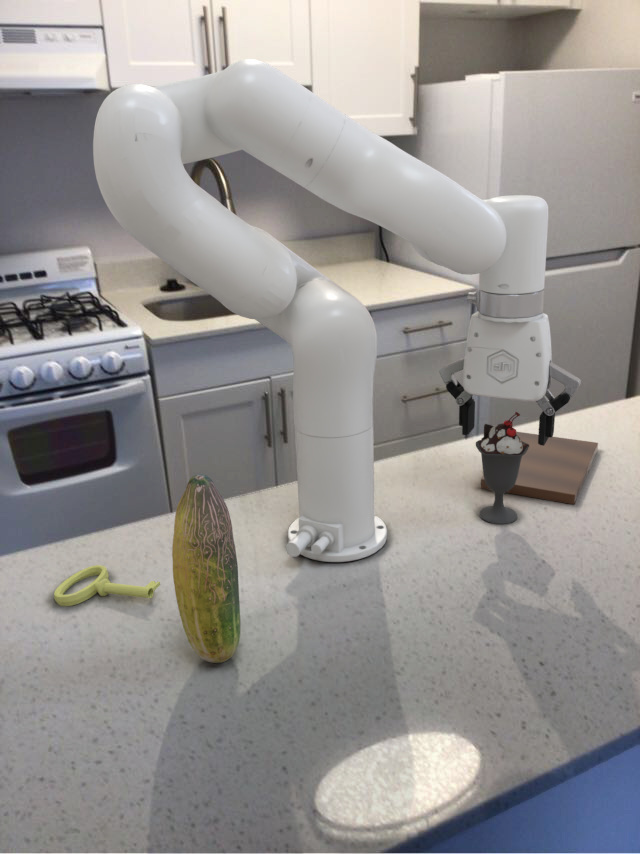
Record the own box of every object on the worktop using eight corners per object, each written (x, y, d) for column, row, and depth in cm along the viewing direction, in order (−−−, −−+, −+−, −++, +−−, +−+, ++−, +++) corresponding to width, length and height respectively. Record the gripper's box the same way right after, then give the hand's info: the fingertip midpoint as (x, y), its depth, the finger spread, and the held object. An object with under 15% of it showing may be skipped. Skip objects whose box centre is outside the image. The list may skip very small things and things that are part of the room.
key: (155, 608, 84) (153, 591, 83) (48, 607, 85) (44, 591, 84) (172, 573, 90) (170, 557, 90) (71, 573, 91) (69, 557, 91)
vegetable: (174, 672, 73) (150, 485, 66) (195, 633, 79) (174, 457, 72) (234, 677, 72) (216, 488, 65) (251, 637, 78) (236, 459, 71)
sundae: (525, 528, 97) (533, 419, 91) (472, 525, 98) (476, 417, 93) (523, 505, 103) (530, 401, 97) (473, 502, 104) (477, 399, 99)
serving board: (574, 504, 103) (575, 494, 102) (480, 488, 108) (480, 478, 108) (597, 451, 119) (598, 442, 118) (514, 439, 125) (515, 431, 124)
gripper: (431, 306, 91) (430, 438, 97) (580, 315, 83) (569, 457, 90) (450, 294, 97) (449, 418, 103) (591, 301, 90) (580, 435, 96)
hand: (505, 436), depth 97 cm, fingers open, 9 cm apart
